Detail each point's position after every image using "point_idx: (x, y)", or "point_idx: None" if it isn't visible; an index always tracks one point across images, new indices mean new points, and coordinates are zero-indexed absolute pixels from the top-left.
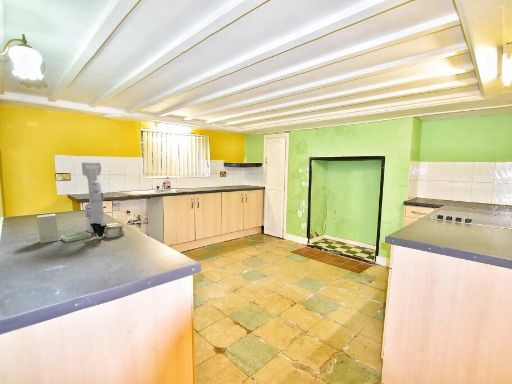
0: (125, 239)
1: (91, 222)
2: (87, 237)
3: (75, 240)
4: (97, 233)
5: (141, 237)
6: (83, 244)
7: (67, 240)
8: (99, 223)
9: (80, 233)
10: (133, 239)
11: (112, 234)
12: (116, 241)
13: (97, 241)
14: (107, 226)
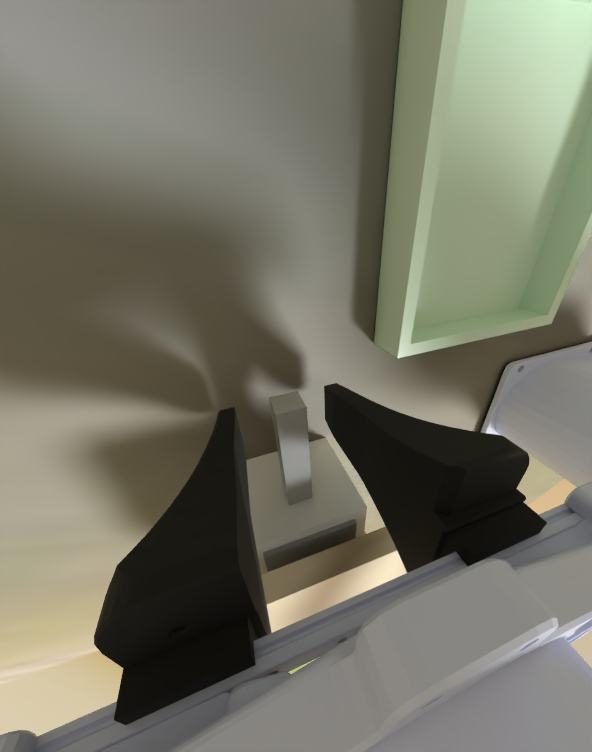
0: (63, 573)
1: (370, 656)
2: (383, 304)
3: (393, 138)
4: (276, 425)
5: (68, 643)
6: (54, 155)
7: None
8: (255, 678)
9: (550, 272)
10: (20, 618)
11: None
12: (10, 523)
13: (143, 367)
14: (301, 583)
